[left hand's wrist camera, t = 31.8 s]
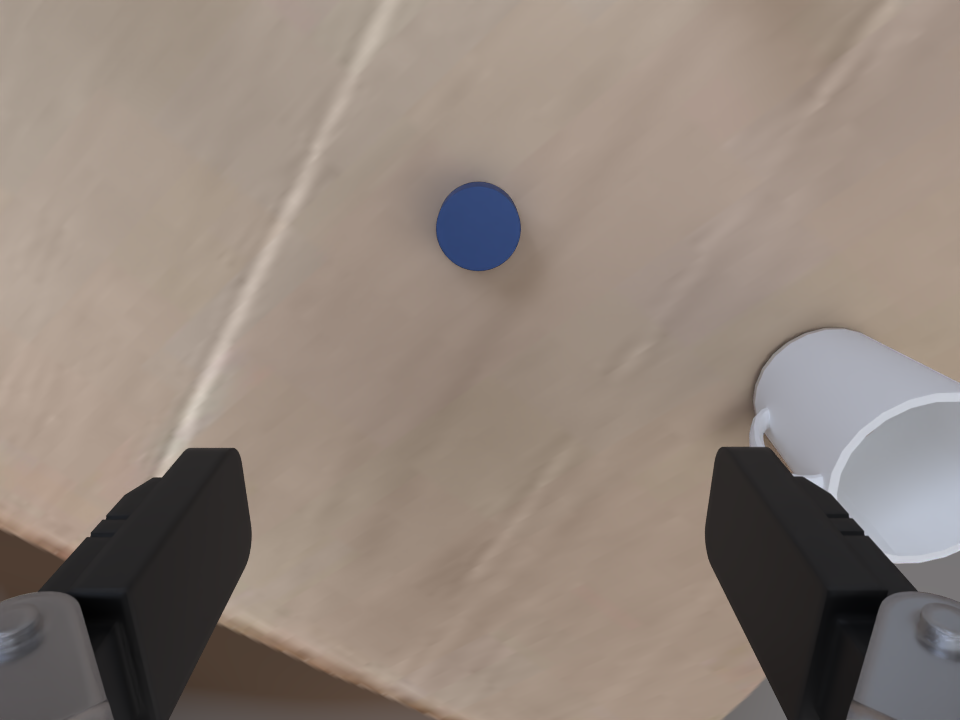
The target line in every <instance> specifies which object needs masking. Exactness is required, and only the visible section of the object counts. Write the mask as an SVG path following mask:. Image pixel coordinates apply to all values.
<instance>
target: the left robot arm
mask: <svg viewBox="0 0 960 720" xmlns="http://www.w3.org/2000/svg"><path fill="white" fill-rule="evenodd" d="M251 538H252V532H251V522H250V515H249V508H248V502H247V495H246V488H245V481H244V474H243V468H242V461H241V457H240V454H239V452H238V451H237V450H236V449H235V448H188V449H186V450H185V451H184V452H183V453H182V454H181V456H180V457H179V458H178V459H177V460H176V462H175V463H174V464H173V465H172V466H171V468H170V469H169V470H168V471H167V472H166V473H165V475H164V476H163V477H162V478H152V479H150V480H148V481H147V482H145V483H144V484H142V485H140V486H139V487H137V488H135V489H134V490H132V491H131V492H129V493H127V494H126V495H124V496H123V498H122V499H121V500H120V501H119V502H118V503H117V504H116V505H115V506H114V508H113V509H112V510H111V511H110V512H109V513H108V514H107V515H106V520H102V521H101V522H100V523H99V524H98V525H97V526H96V528H95V529H94V530H93V531H92V532H91V536H90V537H87V538H86V539H85V540H84V541H83V542H82V543H81V544H80V545H79V546H78V548H77V549H76V550H75V551H74V552H73V553H72V554H71V555H70V556H69V558H68V559H67V560H66V561H65V562H64V563H63V564H62V565H61V566H60V568H59V569H58V570H57V571H56V572H55V573H54V574H53V575H52V577H51V578H50V579H49V580H48V581H47V582H46V583H45V584H44V585H43V587H42V588H41V589H40V590H39V591H38V592H35V593H29V594H24V595H20V596H17V597H14V598H10V599H7V600H5V601H2V602H0V720H169V718H170V716H171V714H172V712H173V710H174V708H175V706H176V704H177V702H178V700H179V698H180V696H181V694H182V692H183V690H184V688H185V686H186V684H187V682H188V680H189V678H190V676H191V674H192V672H193V670H194V668H195V666H196V664H197V662H198V660H199V658H200V656H201V654H202V652H203V650H204V648H205V646H206V644H207V642H208V640H209V638H210V636H211V634H212V632H213V630H214V628H215V626H216V624H217V622H218V620H219V618H220V616H221V614H222V612H223V610H224V608H225V606H226V604H227V602H228V600H229V598H230V596H231V594H232V592H233V590H234V588H235V587H236V585H237V583H238V581H239V579H240V577H241V575H242V573H243V571H244V569H245V567H246V564H247V561H248V558H249V554H250V549H251ZM705 543H706V550H707V555H708V559H709V562H710V564H711V566H712V568H713V570H714V572H715V574H716V576H717V578H718V580H719V582H720V584H721V586H722V588H723V590H724V592H725V594H726V597H727V599H728V601H729V603H730V605H731V607H732V609H733V611H734V613H735V615H736V617H737V619H738V621H739V623H740V625H741V627H742V629H743V631H744V633H745V635H746V637H747V639H748V641H749V643H750V645H751V647H752V649H753V651H754V653H755V655H756V657H757V659H758V661H759V663H760V665H761V667H762V669H763V671H764V673H765V675H766V677H767V679H768V681H769V683H770V685H771V687H772V689H773V691H774V693H775V695H776V697H777V699H778V701H779V703H780V705H781V707H782V709H783V711H784V713H785V715H786V717H787V719H788V720H960V602H958V601H955V600H953V599H950V598H947V597H943V596H940V595H935V594H931V593H925V592H918V591H917V590H916V589H915V588H914V586H913V585H912V584H911V583H910V582H909V581H908V580H907V579H906V577H905V576H904V575H903V574H902V573H901V572H900V571H899V570H898V568H897V567H896V566H895V565H894V564H893V563H892V562H891V561H890V559H889V558H888V557H887V556H886V555H885V554H884V553H883V552H882V550H881V549H880V548H879V547H878V546H877V545H876V544H875V543H874V542H873V540H872V539H871V538H870V537H869V536H865V535H864V530H863V529H862V528H861V527H860V526H859V525H858V524H857V522H856V521H855V520H854V519H853V518H849V513H848V512H847V511H846V510H845V509H844V508H843V507H842V506H841V505H840V503H839V502H838V501H837V500H836V499H835V498H834V497H833V496H832V494H830V493H829V492H827V491H826V490H824V489H822V488H821V487H819V486H818V485H816V484H814V483H813V482H811V481H809V480H808V479H806V478H805V477H803V476H793V475H792V474H791V473H790V471H789V470H788V469H787V468H786V467H785V465H784V464H783V463H782V462H781V461H780V459H779V458H778V457H777V456H776V455H775V453H774V452H773V451H772V450H771V449H770V448H768V447H721V448H720V449H719V450H718V452H717V454H716V457H715V462H714V469H713V476H712V483H711V490H710V497H709V504H708V511H707V518H706V525H705Z"/></svg>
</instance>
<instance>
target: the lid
mask: <svg viewBox="0 0 960 720" xmlns="http://www.w3.org/2000/svg"><path fill="white" fill-rule="evenodd" d="M520 231H521V226H520V219H519V216H518V212H517V209H516V207H515V205H514V203H513V201H512V199H511V198H510V197H509V195H508V194H507V193H506V192H504V191H503V190H502V189H500V188H499V187H497V186H495V185H493V184H490V183H486V182H471V183H467V184H464V185H462V186H460V187H458V188H457V189H455V190H454V191H453V192H451V193H450V194H449V196H448V197H447V198H446V199H445V201H444V203H443V205H442V207H441V209H440V212H439V215H438V218H437V224H436V232H437V239H438V242H439V245H440V247H441V249H442V251H443V252H444V254H445V255H446V256H447V257H448V258H449V259H450V260H451V261H452V262H453V263H455V264H456V265H458V266H460V267H462V268H465V269H468V270H473V271H484V270H489V269H492V268H495V267H497V266H499V265H501V264H502V263H504V262H505V261H506V260H507V259H508V258H509V257H510V256H511V255H512V253H513V252H514V251H515V249H516V247H517V244H518V242H519V238H520Z"/></svg>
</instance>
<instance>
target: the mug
mask: <svg viewBox="0 0 960 720" xmlns="http://www.w3.org/2000/svg"><path fill="white" fill-rule="evenodd" d="M753 405H754V411H755V417H754V418H753V421H752V425H751V428H750V433H749V443H750V447H765V445H764V441H763V434H764V433H765V434H766V436H767V437H768V439H769V440H770V441H771V443H772V444H773V445H774V447H775V448H776V450H777V451H778V452H779V454H780V455H781V456H782V458H783V459H784V461H785V462H786V463H787V465H788V466H789V467H790V469H791V470H792V472H793V473H794V474H792V473H791V474H792V475H793V476H803V477H805V478H806V479H808V480H809V481H811V482H813V483H814V484H816V485H818V486H819V487H821V488H822V489H824V490H826V491H827V492H829V493H830V494H832V496H833V497H834V498H835V499H836V500H837V501H838V502H839V503H840V505H841V506H842V507H843V508H844V509H845V510H846V511H847V512H848V513H849V518H853V519H854V520H855V521H856V522H857V524H858V525H859V526H860V527H861V528H862V529H863V530H864V535H865V536H869V537H870V538H871V539H872V540H873V542H874V543H875V544H876V545H877V546H878V547H879V548H880V549H881V550H882V552H883V553H884V554H885V555H886V556H887V557H888V558H889V559H890V561H891V562H892V563H921V562H926V561H930V560H935V559H939V558H943V557H946V556H949V555H951V554H953V553H956V552H958V551H960V383H959V382H957V381H955V380H953V379H951V378H949V377H947V376H945V375H943V374H941V373H939V372H937V371H935V370H933V369H931V368H929V367H927V366H925V365H923V364H921V363H919V362H917V361H915V360H914V359H912V358H910V357H908V356H906V355H904V354H902V353H900V352H898V351H896V350H894V349H892V348H890V347H888V346H886V345H884V344H882V343H880V342H878V341H876V340H874V339H872V338H870V337H868V336H866V335H864V334H862V333H861V332H858V331H854V330H850V329H846V328H822V329H819V330H815V331H811V332H807V333H804V334H802V335H800V336H798V337H796V338H794V339H793V340H791V341H789V342H787V343H786V344H785V345H783V346H782V347H781V348H780V349H779V350H777V351H776V352H775V353H774V354H773V355H772V356H771V358H770V359H769V360H768V362H767V363H766V364H765V366H764V367H763V368H762V370H761V373H760V375H759V377H758V380H757V382H756V384H755V390H754V397H753Z"/></svg>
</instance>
